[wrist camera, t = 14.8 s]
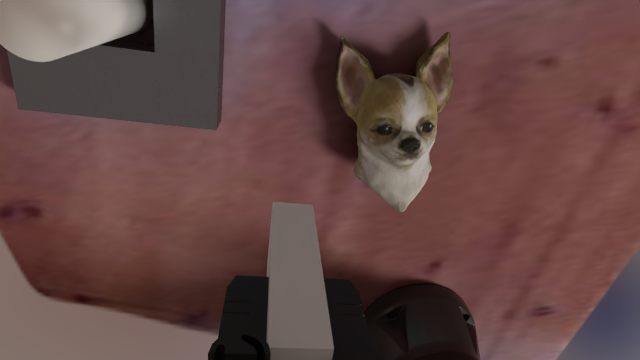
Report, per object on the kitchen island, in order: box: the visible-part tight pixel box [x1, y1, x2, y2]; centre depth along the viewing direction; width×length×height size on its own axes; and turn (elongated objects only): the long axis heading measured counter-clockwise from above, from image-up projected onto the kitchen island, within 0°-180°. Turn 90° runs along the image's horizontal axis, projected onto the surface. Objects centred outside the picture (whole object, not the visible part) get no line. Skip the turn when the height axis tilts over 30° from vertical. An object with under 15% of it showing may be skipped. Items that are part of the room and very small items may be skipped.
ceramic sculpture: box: [336, 32, 453, 212], centre depth 35 cm, size 11×9×15 cm
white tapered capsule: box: [0, 0, 153, 62], centre depth 26 cm, size 4×4×14 cm
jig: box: [7, 0, 226, 130], centre depth 31 cm, size 18×16×3 cm
